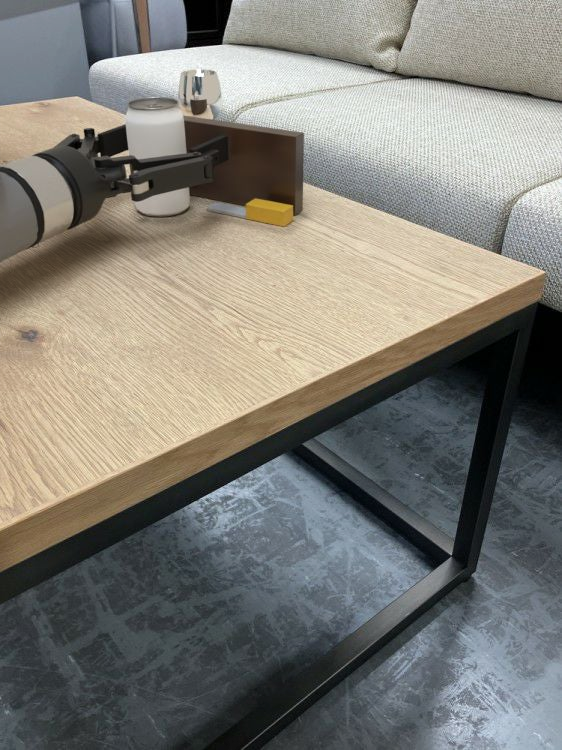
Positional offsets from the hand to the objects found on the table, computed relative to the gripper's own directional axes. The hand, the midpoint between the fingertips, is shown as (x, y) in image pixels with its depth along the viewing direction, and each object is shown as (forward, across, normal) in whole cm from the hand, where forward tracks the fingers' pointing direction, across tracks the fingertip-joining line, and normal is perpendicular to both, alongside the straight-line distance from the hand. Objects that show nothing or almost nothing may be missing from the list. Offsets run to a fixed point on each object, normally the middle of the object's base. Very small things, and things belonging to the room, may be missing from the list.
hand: (180, 140), depth 83 cm
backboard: (+2, +4, -7) cm, 8 cm away
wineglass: (+12, -5, -7) cm, 15 cm away
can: (-4, 0, -7) cm, 8 cm away
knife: (-2, +10, -7) cm, 12 cm away
